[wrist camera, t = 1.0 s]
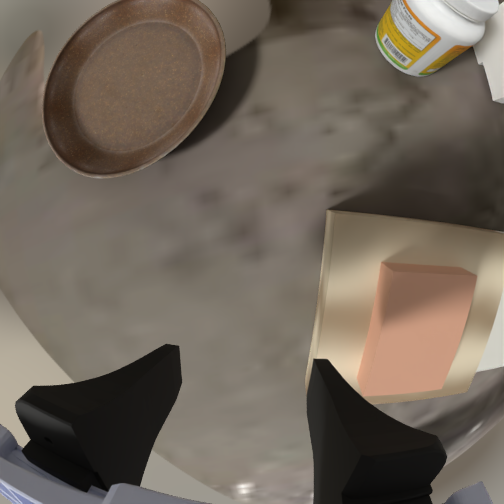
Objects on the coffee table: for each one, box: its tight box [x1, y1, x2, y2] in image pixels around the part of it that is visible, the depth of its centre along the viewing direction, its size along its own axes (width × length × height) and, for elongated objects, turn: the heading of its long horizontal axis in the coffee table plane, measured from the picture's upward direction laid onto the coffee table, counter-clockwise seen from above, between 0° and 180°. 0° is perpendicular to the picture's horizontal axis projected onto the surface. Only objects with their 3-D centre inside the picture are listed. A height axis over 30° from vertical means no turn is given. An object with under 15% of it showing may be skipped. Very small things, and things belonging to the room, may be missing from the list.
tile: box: [357, 262, 477, 396], centre depth 15 cm, size 8×6×2 cm
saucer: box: [42, 0, 226, 178], centre depth 16 cm, size 15×15×3 cm
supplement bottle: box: [375, 0, 499, 77], centre depth 10 cm, size 5×5×10 cm
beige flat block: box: [305, 210, 504, 404], centre depth 18 cm, size 13×14×3 cm
